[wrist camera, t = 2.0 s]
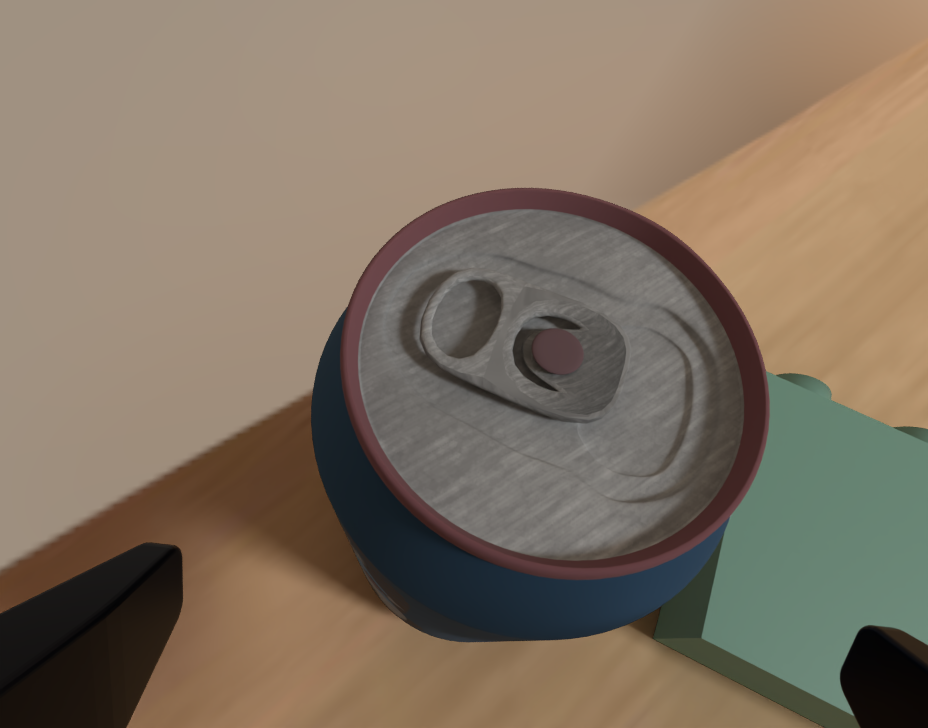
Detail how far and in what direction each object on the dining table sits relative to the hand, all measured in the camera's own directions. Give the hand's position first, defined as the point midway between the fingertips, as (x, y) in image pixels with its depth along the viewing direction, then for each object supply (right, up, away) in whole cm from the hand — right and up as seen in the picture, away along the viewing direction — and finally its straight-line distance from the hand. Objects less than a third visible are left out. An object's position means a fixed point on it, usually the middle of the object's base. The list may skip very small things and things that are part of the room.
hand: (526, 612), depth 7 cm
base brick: (+11, -4, +11) cm, 16 cm away
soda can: (-1, -2, +11) cm, 11 cm away
